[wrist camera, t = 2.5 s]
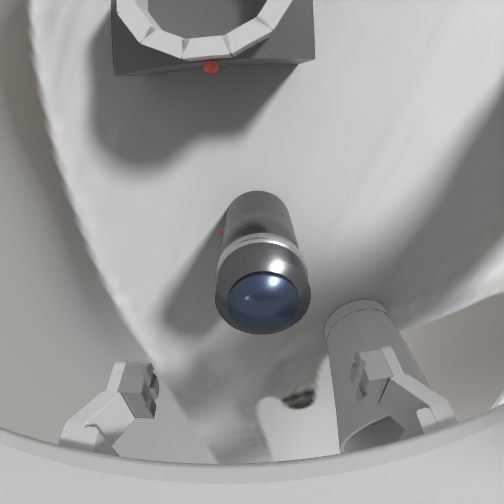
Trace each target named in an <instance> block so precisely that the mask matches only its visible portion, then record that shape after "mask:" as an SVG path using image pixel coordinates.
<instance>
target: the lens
mask: <svg viewBox="0 0 504 504" xmlns="http://www.w3.org/2000/svg"><path fill="white" fill-rule="evenodd" d="M221 233H222V235H223V240H222V247H221V255H220V258H219V261H218V264H217V271H216V294H215V303H216V307H217V310H218V312H219V314H220V315H221V317H222V318H223V319H224V320H225V321H226V322H227V323H228V324H230V325H231V326H232V327H234V328H236V329H238V330H240V331H243V332H246V333H251V334H271V333H276V332H280V331H282V330H285V329H287V328H289V327H291V326H292V325H294V324H295V323H297V322H298V321H299V320H300V319H301V318H302V317H303V315H304V314H305V313H306V311H307V309H308V307H309V304H310V299H311V292H310V287H309V283H308V274H307V268H306V265H305V261H304V259H303V256H302V254H301V252H300V251H299V247H298V244H297V240H296V237H295V233H294V230H293V226H292V223H291V219H290V216H289V213H288V210H287V208H286V206H285V204H284V203H283V202H282V201H281V200H280V199H279V198H278V197H277V196H275V195H273V194H271V193H268V192H264V191H251V192H247V193H245V194H242V195H240V196H239V197H237V198H236V199H235V200H234V201H233V202H232V203H231V205H230V206H229V208H228V210H227V213H226V218H225V225H224V228H223V229H222V230H221Z"/></svg>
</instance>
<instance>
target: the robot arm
mask: <svg viewBox="0 0 504 504" xmlns="http://www.w3.org/2000/svg"><path fill="white" fill-rule="evenodd" d="M354 360H355V363H353V364H352V366H351V382H352V385H353V387H355V388H356V389H357V391H356V398H357V401H358V404H359V407H364V406H370V405H376V404H378V405H379V406H380V407H381V408H382V409H383V410H384V411H385V412H386V413H387V414H388V415H389V416H391V417H392V418H393V419H394V420H395V421H396V422H397V423H398V424H399V425H400V426H401V427H403V428H404V429H405V431H404V432H403V434H402V435H401V437H400V438H399V440H398V441H397V442H393V443H389V444H385V445H381V446H377V447H372V448H367V449H363V450H358V451H353V452H347V453H341V454H336V455H330V456H323V457H315V458H308V459H300V460H290V461H278V462H264V463H244V464H195V463H194V464H192V463H173V462H160V461H150V460H140V459H132V458H124V457H120V456H119V455H118V454H117V452H116V451H115V450H114V449H113V448H112V445H113V444H114V442H115V441H116V440H117V439H118V438H119V437H120V436H121V434H122V433H123V432H124V431H125V430H126V429H127V427H128V426H129V425H130V424H131V423H132V422H133V420H134V419H135V418H154V416H155V410H156V404H155V402H154V400H155V399H156V398H157V397H158V394H159V383H158V378H157V376H156V375H155V374H154V373H153V370H154V368H153V366H152V363H140V362H123V361H116V363H115V364H114V366H113V369H112V372H111V375H110V378H109V381H108V384H107V387H106V390H105V391H101V392H100V393H99V394H98V395H97V396H96V397H94V398H93V399H92V400H91V401H90V402H89V403H87V404H86V405H85V406H84V407H83V408H81V409H80V410H79V411H78V412H77V413H75V414H74V415H73V416H72V417H71V418H70V419H68V420H67V421H66V424H65V427H64V429H63V432H62V435H61V438H60V441H59V444H58V445H57V444H53V443H49V442H45V441H42V440H38V439H35V438H31V437H28V436H25V435H21V434H18V433H15V432H12V431H9V430H6V429H4V428H1V427H0V504H504V404H502V405H500V406H497V407H495V408H493V409H491V410H488V411H486V412H484V413H481V414H479V415H476V416H474V417H471V418H469V419H466V420H463V421H461V422H457V420H456V418H455V415H454V413H453V411H452V409H451V407H450V405H449V403H448V401H447V400H446V399H444V398H443V397H441V396H440V395H438V394H437V393H435V392H434V391H432V390H431V389H429V388H428V387H426V386H425V385H423V384H422V383H420V382H419V381H417V380H416V379H414V378H413V377H411V376H410V375H408V374H406V375H405V374H404V372H403V370H402V368H401V366H400V363H399V361H398V359H397V357H396V355H395V353H394V351H393V349H392V347H390V346H389V347H383V348H375V349H369V350H363V351H356V353H355V355H354Z"/></svg>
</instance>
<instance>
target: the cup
mask: <svg viewBox="0 0 504 504" xmlns="http://www.w3.org/2000/svg"><path fill="white" fill-rule="evenodd" d="M324 334H325V338H326V342H327V347H328V354H329V360H330V367H331V375H332V381H333V389H334V397H335V405H336V414H337V424H338V435H339V446H340V452H341V453H347V452H353V451H358V450H363V449H367V448H372V447H377V446H381V445H385V444H389V443H393V442H397V441H398V440H399V438H400V437H401V435H402V434H403V432H404V431H405V429H404V428H403V427H401V426H400V425H399V424H398V423H397V422H396V421H395V420H394V419H393V418H392V417H391V416H389V415H388V414H387V413H386V412H385V411H384V410H383V409H382V408H381V407H380V406H379V405H378V404H376V405H370V406H364V407H359V404H358V401H357V398H356V391H357V389H356V388H355V387H353V385H352V382H351V366H352V364H353V363H355V360H354V355H355V353H356V351H363V350H369V349H375V348H383V347H389V346H390V347H392V349H393V351H394V353H395V355H396V357H397V359H398V361H399V363H400V366H401V368H402V370H403V372H404V374H405V375H406V374H408V375H410V376H411V377H413V378H414V379H416V380H417V381H419V382H420V383H422V384H423V385H425V386H426V387H428V388H429V389H431V390H432V388H431V386H430V385H429V383H428V381H427V379H426V378H425V376H424V374H423V372H422V371H421V369H420V367H419V366H418V364H417V362H416V360H415V358H414V357H413V355H412V353H411V352H410V350H409V348H408V347H407V345H406V343H405V342H404V340H403V338H402V337H401V335H400V333H399V332H398V330H397V328H396V327H395V325H394V324H393V322H392V320H391V319H390V317H389V315H388V313H387V311H386V309H385V307H384V306H383V305H382V304H380V303H379V302H377V301H374V300H366V299H365V300H357V301H353V302H350V303H347V304H345V305H343V306H342V307H340V308H339V309H337V310H336V311H335V312H334V313H333V314H332V315H331V316H330V317H329V319H328V320H327V322H326V324H325V328H324ZM432 391H433V390H432Z"/></svg>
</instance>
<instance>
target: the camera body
mask: <svg viewBox="0 0 504 504" xmlns="http://www.w3.org/2000/svg"><path fill="white" fill-rule="evenodd" d="M111 25H112V49H113V65H114V76H144V75H150V74H156V73H162V72H169V71H177V70H185V69H193V68H203V67H204V70H205V72H207V73H209V74H212V73H215V72H216V71H217V70H218V66H228V65H246V64H301V63H304V62H307V61H311V60H314V59H315V41H314V17H313V0H111Z"/></svg>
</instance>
